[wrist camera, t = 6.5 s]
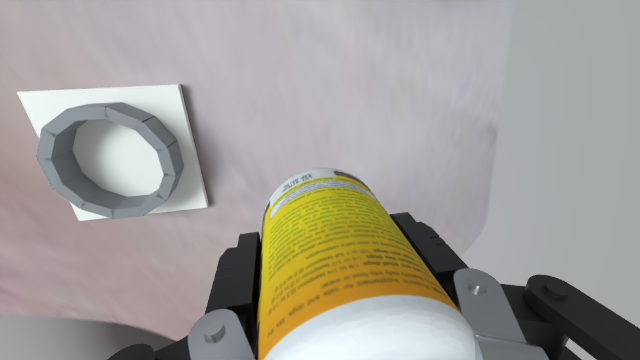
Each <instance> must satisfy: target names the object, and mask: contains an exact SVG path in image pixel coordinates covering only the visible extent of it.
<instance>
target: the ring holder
mask: <svg viewBox="0 0 640 360" xmlns="http://www.w3.org/2000/svg"><path fill="white" fill-rule="evenodd" d="M17 93H18V96H19V98H20V100H21V102H22V104H23V106H24V108H25V110H26V112H27V114H28V116H29V118H30V120H31V122H32V125H33V127H34V129H35V131H36V133H37V135H38V137H39V145H38V150H37V156H36V157H38V158H37V160H38V162H39V164H40V166H41V168H42V170H43V172H44V174H45V176H46V178H47V180H48V182H49V184H50V186H51V187H52V188H53V189H54V190H55V191H57V192H58V193H59V194H61V195H62V196H63V197H65V198H66V199H67V200H68V201H70V203H71V205H72V207H73V209H74V211H75V213H76V216H77V218H78V220H79V221H82V220H92V219H101V218H112V219H113V218H114V219H118V218H127V217H137V216H144V215H146V214H149V213H159V212H168V211H178V210H187V209H197V208H206V207H208V205H209V203H208V199H207V194H206V190H205V186H204V182H203V178H202V173H201V169H200V165H199V161H198V156H197V152H196V148H195V144H194V140H193V135H192V131H191V127H190V123H189V119H188V114H187V110H186V106H185V102H184V97H183V93H182V89H181V85H180V84H170V85H149V86H127V87H105V88H84V89H62V90H40V91H22V92H17Z"/></svg>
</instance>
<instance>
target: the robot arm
mask: <svg viewBox="0 0 640 360" xmlns="http://www.w3.org/2000/svg"><path fill="white" fill-rule="evenodd" d="M389 216H390V217H391V219H392V220H393V221H394V223H395V224H396V225H397V227H398V228H399V229H400V231H401V232H402V234H403V235H404V236H405V238H406V239H407V241H408V242H409V243H410V245H411V246H412V247H413V249H414V250H415V252H416V253H417V254H418V256H419V257H420V258H421V260H422V261H423V262H424V264H425V265H426V266H427V268H428V269H429V270H430V272H431V273H432V275H433V276H434V277H435V279H436V280H437V281H438V283H439V284H440V285H441V287H442V288H443V289H444V291H445V292H446V293H447V295H448V296H449V297H450V299H451V300H452V301H453V303H454V304H455V306H456V307H457V308H458V310H459V311H460V313H461V314H462V315H463V317H464V318H465V320H466V321H467V322H468V324H469V325H470V327H471V328H472V330H473V331H474V333H473V335H474V340H475V360H581V359H580V358H579V357H578V356H577V355H575V354H574V353H573V352H572V351H571V350H569V349H568V348H567V347H566V346H565V345H566V343H567V341H568V339H569V338H570V339H571V340H572V341H574V342H575V343H576V344H578V345H579V346H580V347H581V348H583V349H584V350H585V351H586V352H588V353H589V354H590V355H592V356H593V357H594V358H595V359H597V360H640V329H639V328H638V327H636V326H635V325H633V324H632V323H630V322H629V321H627V320H625V319H624V318H622V317H621V316H619V315H617V314H616V313H614V312H613V311H611V310H610V309H608V308H606V307H605V306H603V305H602V304H600V303H598V302H597V301H595V300H594V299H592V298H591V297H589V296H587V295H586V294H584V293H583V292H581V291H580V290H578V289H576V288H575V287H573V286H571V285H570V284H568V283H567V282H565V281H562V280H560V279H558V278H555V277H551V276H547V275H534V276H532V277H530V278H529V279H528V282H527V284H526V287H525V286H515V285H505V284H499V282H498V281H497V280H496V279H495V278H493V277H492V276H491V275H489V274H487V273H485V272H483V271H480V270H477V269H472V268H471V269H470V268H468V266H467V265H466V264H465V263H464V262H463V261H462V260H461V259H460V258H459V257H458V255H457V254H456V253H455V252H454V251H453V250H452V249H451V248H450V247H449V246H448V245H447V244H446V243H445V242H444V240H443V239H442V238H440V237H439V235H438V234H437V233H436V232H435V231H434V230H433V229H432V228H431V227H429V226H427V225H426V224H424V223H422V222H416V221H415V220H414V219H413V217H412V216H411V215H410V214H409V213H408V212H404V213H397V214H390V215H389ZM260 255H261V241H260V235H259V232H253V233H245V234H240V236H239V241H238V246H237V247H235V248H228V249H227V250H226V251H225V252H224V253H223V255H222V256H221V257H220V259H219V263H218V266H217V271H216V274H215V279H214V281H213V285H212V289H211V293H210V296H209V300H208V304H207V308H206V311H205V315H204V316H202V317H201V318H200V319H199V320H198V321H197V322H196V323H195V324H194V325H193V327H192V328H191V330H190V332H189V335H187V336H186V337H184V338H183V339H181V340H179V341H177V342H175V343H173V344H171V345H168V346H166V347H164V348H162V349H160V350H158V351H155V352H154V350H153V349H152V347H151V346H149V345H146V344H135V345H131V346H129V347H126V348H124V349H122V350H120V351H119V352H117V353H115V354H114V355H113V356H111V357H110V358H109V359H108V360H255V358H254V354H255V337H256V327H257V306H258V290H259V270H260Z"/></svg>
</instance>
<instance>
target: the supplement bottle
mask: <svg viewBox="0 0 640 360" xmlns="http://www.w3.org/2000/svg"><path fill="white" fill-rule="evenodd" d="M473 333H474V331H473V330H472V328H471V327H470V325H469V324H468V322H467V321H466V320H465V318H464V317H463V315H462V314H461V313H460V311H459V310H458V308H457V307H456V306H455V304H454V303H453V301H452V300H451V299H450V297H449V296H448V295H447V293H446V292H445V291H444V289H443V288H442V287H441V285H440V284H439V283H438V281H437V280H436V279H435V277H434V276H433V275H432V273H431V272H430V270H429V269H428V268H427V266H426V265H425V264H424V262H423V261H422V260H421V258H420V257H419V256H418V254H417V253H416V252H415V250H414V249H413V247H412V246H411V245H410V243H409V242H408V241H407V239H406V238H405V236H404V235H403V234H402V232H401V231H400V229H399V228H398V227H397V225H396V224H395V223H394V221H393V220H392V219H391V217H390V216H389V215H388V213H387V212H386V211H385V209H384V208H383V207H382V205H381V204H380V202H379V201H378V200H377V198H376V197H375V196H374V194H373V193H372V192H371V190H370V189H369V188H368V187H367V186H366V185H365V184H364V183H363V182H362V181H361V180H360V179H358V178H357V177H355V176H354V175H352V174H350V173H347V172H345V171H341V170H338V169H331V168H320V169H312V170H308V171H305V172H302V173H299V174H297V175H295V176H293V177H292V178H290V179H288V180H287V181H286V182H284V183H283V184H282V185H281V186H280V187H279V188H278V189H277V190H276V191H275V192H274V194H273V195H272V196H271V198H270V200H269V202H268V204H267V206H266V208H265V212H264V216H263V224H262V238H261V255H260V270H259V290H258V306H257V327H256V337H255V360H475V340H474V335H473Z"/></svg>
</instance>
